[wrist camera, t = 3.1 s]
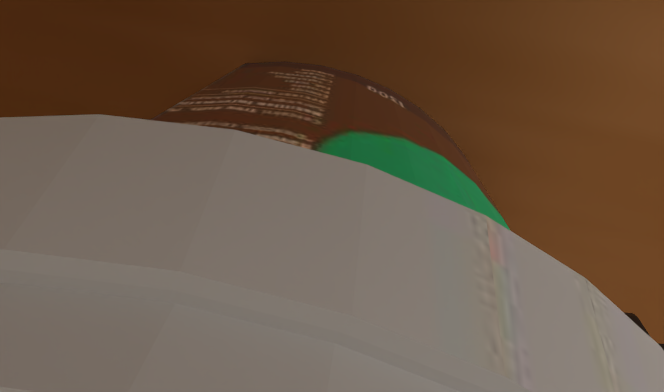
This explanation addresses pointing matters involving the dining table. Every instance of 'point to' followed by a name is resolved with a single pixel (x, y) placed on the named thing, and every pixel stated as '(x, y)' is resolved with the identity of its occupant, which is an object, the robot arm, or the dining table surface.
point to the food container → (283, 255)
